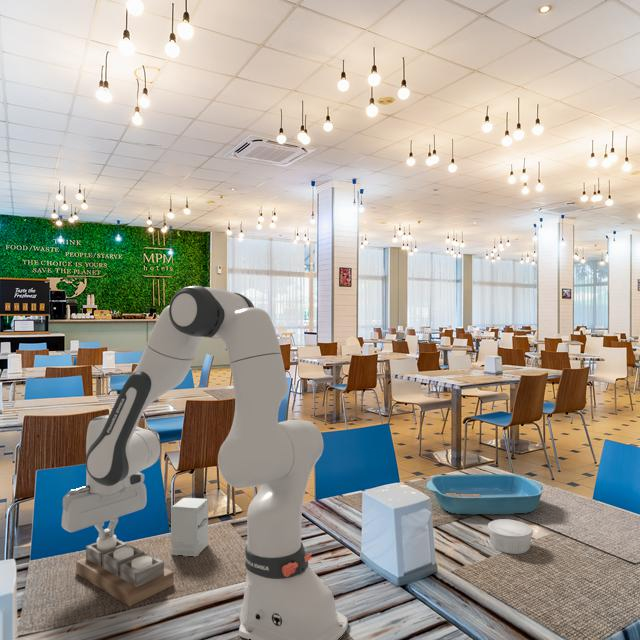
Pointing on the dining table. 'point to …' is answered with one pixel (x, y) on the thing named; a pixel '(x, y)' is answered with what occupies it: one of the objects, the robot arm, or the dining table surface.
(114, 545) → the knob far
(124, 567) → the knob mount
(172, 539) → the supplement box
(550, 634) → the dining table surface
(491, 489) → the casserole dish
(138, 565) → the knob near
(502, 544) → the ramekin
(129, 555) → the knob middle
